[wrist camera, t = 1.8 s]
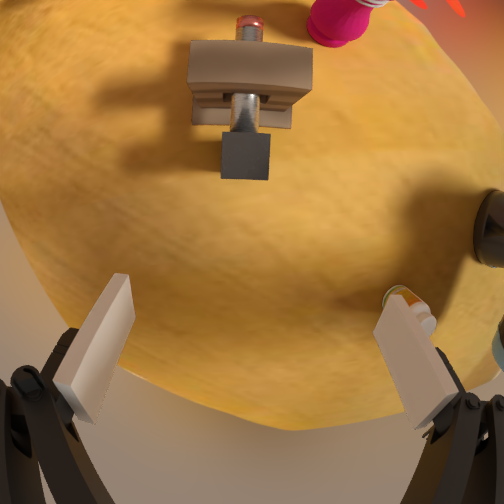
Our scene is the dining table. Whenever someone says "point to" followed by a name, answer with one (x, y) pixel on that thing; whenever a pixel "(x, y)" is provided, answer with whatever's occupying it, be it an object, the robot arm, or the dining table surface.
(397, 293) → the supplement bottle
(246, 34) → the metal rod with plate
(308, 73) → the wooden arch frame
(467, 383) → the dining table surface
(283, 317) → the dining table surface
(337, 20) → the pepper mill
